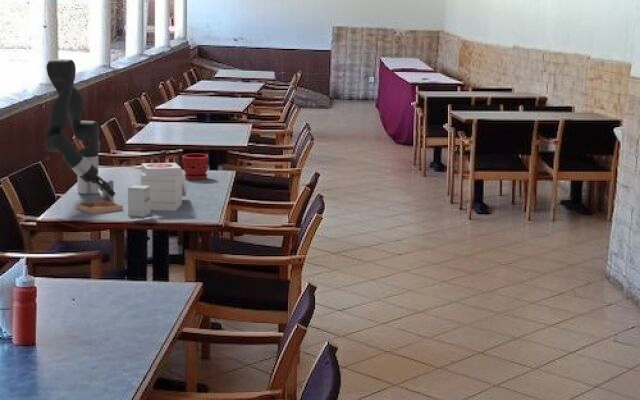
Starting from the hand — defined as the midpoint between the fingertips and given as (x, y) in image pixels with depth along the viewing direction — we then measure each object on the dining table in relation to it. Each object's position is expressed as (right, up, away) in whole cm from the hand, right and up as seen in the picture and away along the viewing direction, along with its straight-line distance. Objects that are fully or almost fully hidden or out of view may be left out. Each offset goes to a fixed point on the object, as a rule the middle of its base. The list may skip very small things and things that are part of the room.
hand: (110, 193), depth 435 cm
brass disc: (-2, -8, -16) cm, 18 cm away
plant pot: (+27, +8, +76) cm, 81 cm away
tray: (-2, -8, -11) cm, 14 cm away
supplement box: (+16, -10, -19) cm, 27 cm away
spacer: (-1, -5, +1) cm, 6 cm away
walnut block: (-7, -7, -12) cm, 15 cm away
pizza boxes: (+22, -5, +8) cm, 24 cm away
